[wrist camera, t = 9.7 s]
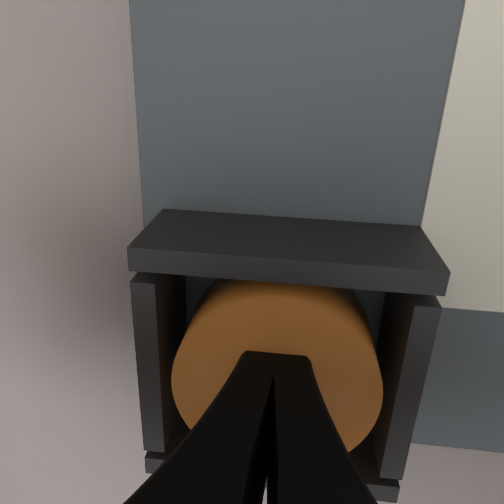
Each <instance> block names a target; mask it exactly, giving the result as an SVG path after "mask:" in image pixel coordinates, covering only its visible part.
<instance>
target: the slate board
mask: <svg viewBox="0 0 504 504" xmlns="http://www.w3.org/2000/svg"><path fill="white" fill-rule="evenodd" d="M129 6H130V21H131V36H132V51H133V67H134V82H135V97H136V112H137V127H138V142H139V157H140V172H141V188H142V203H143V218H144V230H143V231H142V232H141V233H140V234H139V235H138V236H137V237H136V238H135V239H134V240H133V241H132V242H131V243H130V245H129V246H128V247H127V254H128V266H129V271H137V274H136V275H135V276H134V277H133V279H132V280H131V281H130V290H131V302H132V314H133V326H134V338H135V350H136V361H137V373H138V385H139V397H140V409H141V421H142V433H143V445H144V450H146V451H147V453H146V456H145V468H146V473H151V474H153V473H154V472H155V471H156V470H157V469H158V468H159V466H160V465H161V464H162V463H163V462H164V461H165V460H166V459H167V458H168V457H169V455H170V454H171V453H172V452H173V451H174V450H175V448H176V447H177V446H178V445H179V443H180V442H181V441H182V440H183V439H184V437H185V436H186V435H187V434H188V433H189V431H190V430H191V429H190V428H189V427H188V426H187V424H186V423H185V421H184V420H183V418H182V417H181V415H180V413H179V411H178V409H177V406H176V404H175V400H174V397H173V393H172V385H171V376H172V368H173V363H174V360H175V357H176V354H177V352H178V349H179V347H180V345H181V342H182V340H183V338H184V335H185V333H186V331H187V328H188V326H189V324H190V322H191V319H192V317H193V315H194V312H195V310H196V308H197V305H198V303H199V301H200V299H201V298H202V296H203V294H204V293H205V291H206V290H207V289H208V288H209V286H210V285H211V284H212V283H213V282H214V281H215V280H217V279H218V278H224V279H236V280H248V281H261V282H273V283H286V284H298V285H310V286H323V287H335V288H347V289H351V290H352V291H353V292H354V294H355V295H356V296H357V297H358V299H359V301H360V302H361V304H362V306H363V308H364V310H365V313H366V315H367V318H368V323H369V327H370V331H371V335H372V340H373V344H374V348H375V352H376V357H377V361H378V365H379V369H380V374H381V378H382V383H383V400H382V406H381V410H380V413H379V416H378V418H377V421H376V423H375V425H374V426H373V428H372V429H371V431H370V432H369V434H368V435H367V436H366V437H365V438H364V440H363V441H362V442H361V443H360V444H359V445H357V446H356V447H355V448H354V449H353V450H351V451H350V452H348V453H349V455H350V457H351V458H352V460H353V462H354V464H355V466H356V467H357V469H358V471H359V473H360V475H361V476H362V478H363V480H364V482H365V483H366V485H367V487H368V488H369V490H370V492H371V493H372V495H373V497H374V498H375V500H376V501H385V502H393V503H396V502H397V498H398V494H399V490H400V486H399V481H398V480H402V477H403V473H404V469H405V464H406V460H407V456H408V452H409V447H410V443H418V444H428V445H437V446H446V447H455V448H464V449H474V450H483V451H492V452H501V453H504V0H129ZM265 487H267V479H266V484H265Z"/></svg>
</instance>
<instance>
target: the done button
mask: <svg viewBox="0 0 504 504" xmlns="http://www.w3.org/2000/svg"><path fill="white" fill-rule="evenodd" d="M247 350H248V351H259V352H269V353H280V354H291V355H302V356H307V357H308V359H309V360H310V361H311V364H312V368H313V372H314V375H315V378H316V381H317V384H318V387H319V390H320V392H321V395H322V397H323V400H324V402H325V405H326V407H327V409H328V412H329V414H330V416H331V418H332V420H333V422H334V424H335V426H336V429H337V431H338V433H339V435H340V437H341V439H342V441H343V443H344V445H345V447H346V449H347V451H348V452H350V451H351V450H353V449H354V448H355V447H356V446H357V445H359V444H360V443H361V442H362V441H363V440H364V438H365V437H366V436H367V435H368V434H369V432H370V431H371V429H372V428H373V426H374V425H375V423H376V421H377V418H378V416H379V413H380V410H381V406H382V400H383V383H382V378H381V374H380V369H379V365H378V361H377V357H376V352H375V348H374V344H373V340H372V335H371V331H370V327H369V323H368V318H367V315H366V313H365V310H364V308H363V306H362V304H361V302H360V301H359V299H358V297H357V296H356V295H355V294H354V292H353V291H352V290H351V289H347V288H335V287H323V286H310V285H298V284H286V283H273V282H261V281H248V280H236V279H224V278H218V279H217V280H215V281H214V282H213V283H212V284H211V285H210V286H209V288H208V289H207V290H206V291H205V293H204V294H203V296H202V298H201V299H200V301H199V303H198V305H197V308H196V310H195V312H194V315H193V317H192V319H191V322H190V324H189V326H188V328H187V331H186V333H185V335H184V338H183V340H182V342H181V345H180V347H179V349H178V352H177V354H176V357H175V360H174V363H173V368H172V376H171V385H172V393H173V397H174V400H175V404H176V406H177V409H178V411H179V413H180V415H181V417H182V418H183V420H184V421H185V423H186V424H187V426H188V427H189V428H190V429H192V428H193V427H194V425H195V424H196V423H197V422H198V420H199V419H200V418H201V416H202V415H203V414H204V412H205V411H206V409H207V408H208V407H209V405H210V404H211V403H212V401H213V400H214V398H215V397H216V396H217V394H218V393H219V391H220V390H221V388H222V387H223V385H224V384H225V382H226V381H227V379H228V378H229V376H230V374H231V373H232V371H233V369H234V368H235V366H236V364H237V362H238V360H239V358H240V356H241V354H242V353H244V352H245V351H247Z"/></svg>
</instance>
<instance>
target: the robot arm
mask: <svg viewBox="0 0 504 504" xmlns="http://www.w3.org/2000/svg"><path fill="white" fill-rule="evenodd" d="M266 479H267V504H378V503H377V502H376V500H375V498H374V497H373V495H372V493H371V492H370V490H369V488H368V487H367V485H366V483H365V482H364V480H363V478H362V476H361V475H360V473H359V471H358V469H357V467H356V466H355V464H354V462H353V460H352V458H351V457H350V455H349V453H348V451H347V449H346V447H345V445H344V443H343V441H342V439H341V437H340V435H339V433H338V431H337V429H336V426H335V424H334V422H333V420H332V418H331V416H330V414H329V412H328V409H327V407H326V405H325V402H324V400H323V397H322V395H321V392H320V390H319V387H318V384H317V381H316V378H315V375H314V372H313V368H312V364H311V361H310V360H309V359H308V357H307V356H302V355H291V354H280V353H269V352H259V351H248V350H247V351H245V352H244V353H242V354H241V356H240V358H239V360H238V362H237V364H236V366H235V368H234V369H233V371H232V373H231V374H230V376H229V378H228V379H227V381H226V382H225V384H224V385H223V387H222V388H221V390H220V391H219V393H218V394H217V396H216V397H215V398H214V400H213V401H212V403H211V404H210V405H209V407H208V408H207V409H206V411H205V412H204V414H203V415H202V416H201V418H200V419H199V420H198V422H197V423H196V424H195V425H194V427H193V428H192V429H191V430H190V431H189V433H188V434H187V435H186V436H185V437H184V439H183V440H182V441H181V442H180V443H179V445H178V446H177V447H176V448H175V450H174V451H173V452H172V453H171V454H170V455H169V457H168V458H167V459H166V460H165V461H164V462H163V463H162V464H161V465H160V466H159V468H158V469H157V470H156V471H155V472H154V473H153V474H152V475H151V476H150V477H149V478H148V479H147V480H146V481H145V482H144V483H143V484H142V485H141V486H140V487H139V488H138V489H137V490H136V491H135V492H134V494H133V495H132V496H130V497H129V498H128V499H127V500H126V501H125V502H124V503H123V504H262V501H263V495H264V490H265V484H266Z"/></svg>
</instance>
